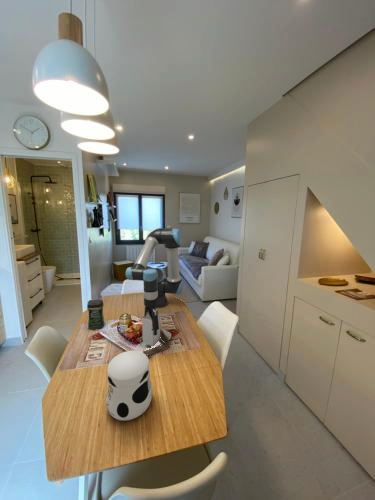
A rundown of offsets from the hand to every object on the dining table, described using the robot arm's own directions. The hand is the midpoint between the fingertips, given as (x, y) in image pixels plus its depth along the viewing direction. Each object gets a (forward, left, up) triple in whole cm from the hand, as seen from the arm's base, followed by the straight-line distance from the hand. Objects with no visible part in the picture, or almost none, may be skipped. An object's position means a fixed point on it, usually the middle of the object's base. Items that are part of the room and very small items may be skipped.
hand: (151, 334), depth 115 cm
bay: (0, 0, -7) cm, 7 cm away
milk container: (+20, +31, -7) cm, 37 cm away
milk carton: (0, 0, -4) cm, 4 cm away
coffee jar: (+25, -36, -7) cm, 44 cm away
